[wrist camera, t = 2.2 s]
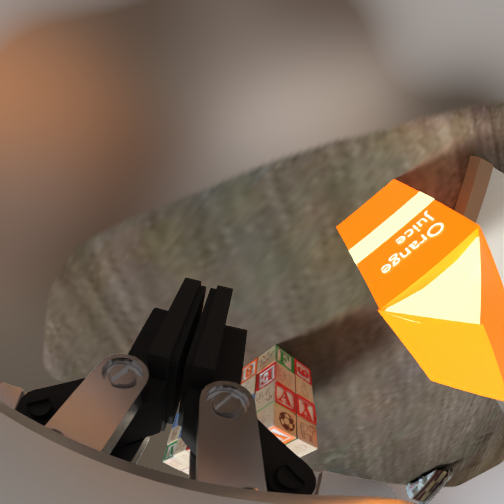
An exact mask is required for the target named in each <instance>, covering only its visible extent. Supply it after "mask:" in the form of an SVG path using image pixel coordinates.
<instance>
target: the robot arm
mask: <svg viewBox="0 0 504 504" xmlns="http://www.w3.org/2000/svg"><path fill="white" fill-rule="evenodd" d="M205 292H206V287H205V286H201V281H198V280H194V279H190V278H185V280H184V282H183V283H182V285H181V287H180V289H179V291H178V293H177V295H176V297H175V299H174V301H173V303H172V305H171V307H170V309H169V311H166V310H163V309H159V308H154V309H153V311H152V313H151V314H150V316H149V318H148V319H147V321H146V323H145V325H144V327H143V328H142V330H141V332H140V334H139V335H138V337H137V339H136V341H135V343H134V344H133V346H132V348H131V350H130V352H129V353H128V354H114V355H110V356H108V357H106V358H104V359H103V360H102V361H101V362H100V363H99V364H98V365H97V366H96V367H95V368H94V369H93V371H92V372H91V373H90V374H89V375H88V376H87V377H86V378H83V379H79V380H76V381H71V382H67V383H63V384H59V385H54V386H50V387H46V388H41V389H36V390H33V391H31V392H28V393H25V392H24V391H23V389H22V388H19V387H16V386H12V385H9V384H6V383H3V382H0V504H415V503H411V502H408V501H405V500H399V499H396V495H395V492H394V491H393V489H392V488H391V487H390V486H389V485H387V484H386V483H383V482H380V481H373V480H367V479H362V478H356V477H351V476H346V475H341V474H337V473H332V472H328V471H324V470H323V471H322V472H321V473H319V472H315V471H313V470H312V469H311V468H310V467H309V466H308V465H307V464H306V463H305V462H304V461H303V460H302V459H301V458H299V457H298V456H297V455H296V454H295V453H294V452H293V451H292V450H290V449H289V448H288V447H287V446H286V445H285V444H284V443H283V442H282V441H281V440H279V439H278V438H277V437H276V436H275V435H274V434H273V433H272V432H271V431H270V430H269V429H268V428H267V427H266V426H265V425H264V424H263V423H261V422H260V421H259V420H258V419H257V412H256V405H255V401H254V398H253V396H252V394H251V393H250V392H249V391H248V390H247V389H246V388H245V387H243V386H242V385H241V378H242V369H243V361H244V353H245V344H246V336H247V330H245V329H240V328H236V327H231V326H227V325H225V323H226V319H227V314H228V310H229V305H230V301H231V296H232V292H233V289H232V288H227V287H223V286H219V285H218V286H217V289H213V288H211V289H210V292H209V294H208V297H207V300H206V303H205V306H204V309H203V303H204V297H205ZM202 309H203V312H202ZM180 399H181V400H180ZM496 401H497V402H498V404H499V406H500V408H501V409H502V411H503V413H504V401H501V400H497V399H496ZM179 402H180V409H179V418H178V426H181V427H182V431H181V439H182V440H183V441H184V443H185V444H186V445H187V447H188V448H189V449H190V454H189V479H188V478H184V477H180V476H176V475H172V474H168V473H164V472H161V471H157V470H154V469H150V468H147V467H144V466H140V465H137V464H136V463H137V461H138V459H139V457H140V456H141V453H142V452H143V450H144V448H145V447H146V445H147V443H148V440H149V438H150V436H151V435H154V434H157V433H159V432H160V430H161V431H164V430H165V427H166V424H167V423H170V424H173V422H174V419H175V415H176V412H177V409H178V405H179Z"/></svg>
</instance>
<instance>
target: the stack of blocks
mask: <svg viewBox="0 0 504 504" xmlns="http://www.w3.org/2000/svg"><path fill="white" fill-rule="evenodd" d="M241 385H242V386H243V387H245V388H246V389H247V390H248V391H249V392H250V393H251V394H252V396H253V398H254V401H255V405H256V412H257V419H258V420H259V421H260V422H261V423H263V424H264V425H265V426H266V427H267V428H268V429H269V430H270V431H271V432H272V433H273V434H274V435H275V436H276V437H277V438H278V439H279V440H281V441H282V442H283V443H284V444H285V445H286V446H287V447H288V448H289V449H290V450H292V451H293V452H294V453H295V454H296V455H297V456H298V457H302V456H304V455H306V454H308V453H310V452H312V451H314V450H316V449H317V448H318V444H317V434H316V425H317V422H316V413H315V412H316V411H315V405H314V399H313V390H312V379H311V370H310V369H309V368H307V367H306V366H305V365H303V364H302V363H301V362H299V361H298V360H296V359H295V358H293V357H292V356H290V355H289V354H288V353H287V352H285V351H284V350H283V349H281V348H280V347H279V346H277V345H274V346H273V347H272V348H270V349H269V350H268V351H266V352H265V353H264V354H262V355H261V356H260V357H258V358H256V359H255V360H253V361H252V362H251V363H249V364H248V365H246V366H245V367H244V368H243V369H242V378H241ZM178 418H179V413H178V414H177V415H176V417H175V421H174V424H173V427H172V430H171V433H170V436H169V440H168V442H167V445H168V446H167V449H166V452H165V455H164V459H163V462H164V463H166V464H168V465H170V466H172V467H174V468H176V469H178V470H181V471H183V472H185V473H187V474H189V454H190V449H189V448H188V447H187V445H186V444H185V443H184V441H183V440H182V439H181V431H182V427H181V426H178Z"/></svg>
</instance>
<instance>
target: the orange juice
mask: <svg viewBox="0 0 504 504" xmlns="http://www.w3.org/2000/svg"><path fill="white" fill-rule="evenodd" d="M336 228H337V230H338V232H339V233H340V235H341V237H342V239H343V240H344V242H345V244H346V246H347V248H348V249H349V252H350V254H351V256H352V258H353V260H354V262H355V264H356V265H357V266H358V268H359V270H360V272H361V274H362V276H363V277H364V279H365V281H366V283H367V285H368V287H369V289H370V291H371V293H372V295H373V297H374V299H375V301H376V303H377V305H378V307H379V309H380V310H378V312H379V313H380V314H381V315H382V317H383V318H384V319H385V320H386V322H387V323H388V324H389V325H390V327H391V328H392V329H393V331H394V332H395V333H396V335H397V336H398V337H399V338H400V340H401V341H402V342H403V344H404V345H405V346H406V348H407V349H408V350H409V352H410V353H411V354H412V356H413V357H414V358H415V360H416V361H417V362H418V364H419V365H420V366H421V368H422V369H423V370H424V372H425V373H426V374H427V376H428V377H429V379H430V380H431V381H434V382H437V383H441V384H444V385H447V386H450V387H454V388H457V389H461V390H464V391H468V392H471V393H475V394H478V395H482V396H486V397H489V398H493V399H497V400H501V401H504V287H503V284H502V281H501V278H500V275H499V273H498V270H497V267H496V264H495V262H494V259H493V257H492V254H491V251H490V249H489V247H488V244H487V242H486V239H485V237H484V235H483V232H482V230H481V228H480V226H479V225H478V224H476V223H474V222H473V221H471V220H469V219H468V218H466V217H464V216H462V215H461V214H459V213H457V212H456V211H454V210H452V209H450V208H449V207H447V206H445V205H443V204H441V203H440V202H438V201H436V200H435V199H434V198H432V197H430V196H428V195H426V194H424V193H422V192H419V191H417V190H415V189H413V188H411V187H409V186H407V185H405V184H403V183H401V182H399V181H397V180H395V179H393V180H392V181H391V182H390V183H389V184H387V185H386V186H385V187H384V188H383V189H382V190H380V191H379V192H378V193H377V194H376V195H374V196H373V197H372V198H371V199H370V200H368V201H367V202H366V203H365V204H364V205H362V206H361V207H360V208H359V209H358V210H356V211H355V212H354V213H353V214H351V215H350V216H349V217H348V218H347V219H345V220H344V221H343V222H342V223H340V224H339V225H338V226H337V227H336Z"/></svg>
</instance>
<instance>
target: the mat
mask: <svg viewBox="0 0 504 504" xmlns="http://www.w3.org/2000/svg"><path fill="white" fill-rule="evenodd" d="M493 166H494V165H493V164H491V163H489V162H488V161H486V160H484V159H482V158H480V157H476V156H472V155H470V159H469V163H468V166H467V170H466V174H465V177H464V180H463V184H462V187H461V190H460V193H459V196H458V200H457V203H456V206H455V208H454V211H456V212H457V213H459V214H461V215H462V216H464V217H466V218H468V219H469V220H471V221H473V222H474V223H476V224H478V225H479V226H480V228H481V230H482V232H483V235H484V237H485V239H486V242H487V244H488V247H489V249H490V251H491V254H492V257H493V259H494V262H495V264H496V267H497V270H498V273H499V275H500V278H501V281H502V284H503V287H504V173H502V172H500V171H499V170H497V169H495V168H494V167H493Z"/></svg>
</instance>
